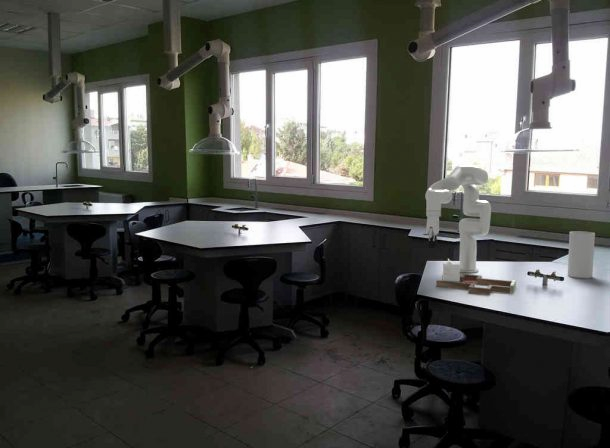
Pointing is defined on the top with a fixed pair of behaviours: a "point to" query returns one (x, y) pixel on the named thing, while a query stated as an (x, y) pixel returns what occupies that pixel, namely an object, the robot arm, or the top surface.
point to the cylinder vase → (581, 254)
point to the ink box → (451, 271)
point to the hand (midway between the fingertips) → (432, 247)
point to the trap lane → (493, 284)
